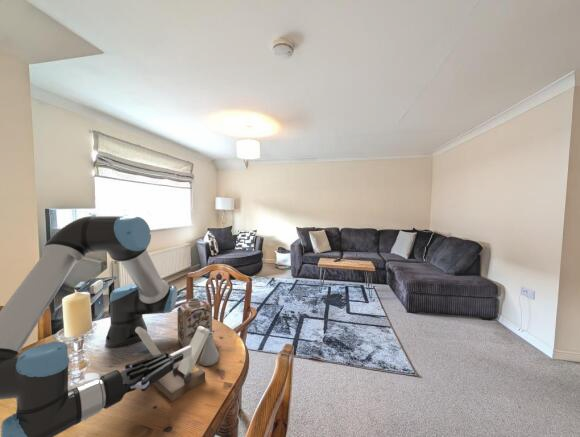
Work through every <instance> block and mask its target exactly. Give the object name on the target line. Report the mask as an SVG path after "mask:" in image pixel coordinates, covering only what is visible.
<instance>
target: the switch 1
mask: <svg viewBox="0 0 580 437" xmlns="http://www.w3.org/2000/svg"><path fill="white" fill-rule="evenodd" d="M135 332H136V333H137V334H138V335H139V337H140V338H141V340H140V341H142V342H143V344H144V345H145V347H146V348H147V349H148V351H149V353H150V354H151V356H156V355H159V354H161V353H160V352H161V351H160V349H159V348H158V346H157V345H156V343H155V342H154V340H153V339H152V337H151V336H150V335H149V333H148V330H147V331H146V330H145V329H143V328H142V327H137V328H136V329H135Z"/></svg>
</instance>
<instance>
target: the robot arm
mask: <svg viewBox="0 0 580 437" xmlns="http://www.w3.org/2000/svg"><path fill="white" fill-rule="evenodd" d="M151 240H152V234H151V228H150V226H149V224H148V222H147V221H146V220H145V219H144V218H142V217H140V216H137V215H128V214H127V215H98V216H97V215H90V216H85V217H81V218H78V219H75V220H73V221H71V222H69V223H68V224H66V225H65V226H63V227H61V229H59V230H58V231H57V232H56V233H54V234H53V235H52V236H51V238H50V239H49V240H47V242H46V243H45V244H44V246H43V247H42V248H41V252H42V256H41V257H40V258H39V259H38V261H37V262H36V264H34V266H33V267H32V269H31V270H30V271H29V273H28V274H27V275H26V276H25V277H24V280H23V281H22V282H21V283H20V285H18V287H17V289H16V290H15V291H14V293H13V294H12V295H11V296H10V298H9V299H8V300H7V301H6V302H5V305H4V306H3V307H2V308H1V309H0V400H9V399H15V400H16V412H15V413H12V415H9V416H8V417H6V418H5V419H3V421H2V422H1V425H0V437H56V436H57V435H59V434H62V433H63V432H65V431H67V430H68V429H70V428H72V427H75V426H76V425H79V424H80V423H82V422H83V421H87V420H88V419H89V418H91V417H93V416H94V415H97V414H99V413H100V412H102V411H103V409H106V410H107V409H108V408H110V407H113V406H114V405H116V404H118V403H119V402H121V401H122V400H123V398H124V396H125V395H126V394H127V393H130V392H133V391H135V390H137V389H140V392H142V393H143V392H146V391H147V390H148V389H149V388H150V386H152V385H154V384H153V383H155V382H156V381H158V380H159V379H160V378H162V377H163V376H165V375H166V374H168V373H169V372H171V371H172V370H173V364H175V363H177V362H179V361H181V360H183V359H185V358H187V357H188V356H190V355H192V347H191V346H190V345H189V346H187V347H184V348H183V347H182V348H180V349H178V350H176V351H175V352H174V353H172V354H169V352H165V355H164V354H163V353H162V354H159V355H156V356H153V357H151V356H149V357H150V358H149V357H147V358H144V359H141V360H138V361H135V362H129V363H126V364H125V365H124V370H121V372H120V370H118V369H116V370H113V371H110V372H108V373H105V374H103V375H101V376H100V377H99V378H94V379H92V380H90V381H87V382H85V383H83V384H80V385H78V386H76V387H74V388H72V389H69V364H70V357H69V354H68V345H67V343H66V342H64V341H59V340H57V341H50V342H47V343H41V344H37V345H35V346H32V347H30V348H28V349H25V350H24V351H23V352H21V350H22V348H23V347H24V346H25V344H26V342H27V341H28V339H29V337H30V336H31V334H32V333H33V331H34V330H35V328H36V327H37V325H38V323H39V322H40V320H41V318H42V317H43V315H44V314H45V312H46V311H47V309H48V308H49V306H50V304H51V303H52V301H53V300H54V298H55V296H56V295H57V293H58V291H60V288H61V287H62V285H63V283H64V282H65V280H66V279H67V277H68V276H69V274H70V273H71V271H72V269H73V268H74V266H75V264H77V263H80V262H82V261H83V260H84V257H85V256H86V255H87V254H89V253H92V252H94V253H95V252H98V253H99V252H106V253H107V254H108V255H109V257H110V258H111V259H112V260H113V261H116V262H120V264H121V265H122V266H123V269H125V272H127V273H128V276H129V277H130V279H131V280H132V282H133V283H132V284H127V285H124V286H120V287H118V288H115V289H113V290H112V291H111V293H110V297H109V310H110V311H109V314H110V326H109V329H108V331H107V335H106V337H105V346H106V347H108V348H120V347H121V348H122V347H126V346H130V345H133V344H135V343H138V342H139V341H142V340H141V338H140V337H139V335H138V334H137V333H136V332H135V329H136V328H137V327H142V328H143V329H145V330H146V331H147V332H148V327H147V324H146V322H145V320H144V318H143V315H155V314H157V315H158V314H162V315H164V314H169V313H171V312H172V311H173V310H174V309H175V306H176V305H177V301H178V300H177V299H178V287H177V286H176V285H169V283H168V282H167V280H164V279H162V278H161V276H160V274H159V271H158V270H157V268H156V266H155V264H154V262H153V260H152V259H151V256H150V254H149V252H148V251H147V249H148V247H149V245H150V243H151ZM20 352H21V353H20ZM19 353H20V355H19ZM18 355H19V356H18Z"/></svg>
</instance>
